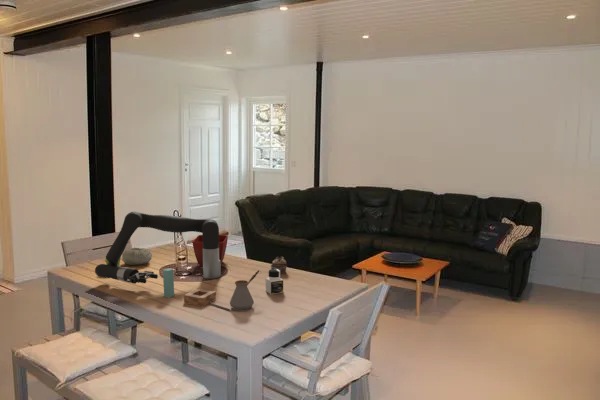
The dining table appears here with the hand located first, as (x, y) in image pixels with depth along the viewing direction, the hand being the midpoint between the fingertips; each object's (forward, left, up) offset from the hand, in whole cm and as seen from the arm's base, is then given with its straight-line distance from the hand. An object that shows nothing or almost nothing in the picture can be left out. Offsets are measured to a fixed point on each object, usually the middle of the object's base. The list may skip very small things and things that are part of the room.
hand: (151, 278), depth 255 cm
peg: (-6, +10, -8) cm, 13 cm away
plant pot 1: (+6, -50, -8) cm, 51 cm away
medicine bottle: (-54, +35, -8) cm, 64 cm away
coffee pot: (-33, +44, -8) cm, 55 cm away
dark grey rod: (-20, +39, -8) cm, 44 cm away
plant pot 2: (-49, -32, -8) cm, 59 cm away
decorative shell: (-11, -59, -8) cm, 61 cm away
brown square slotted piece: (-16, +26, -8) cm, 31 cm away
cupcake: (-74, +8, -8) cm, 74 cm away
